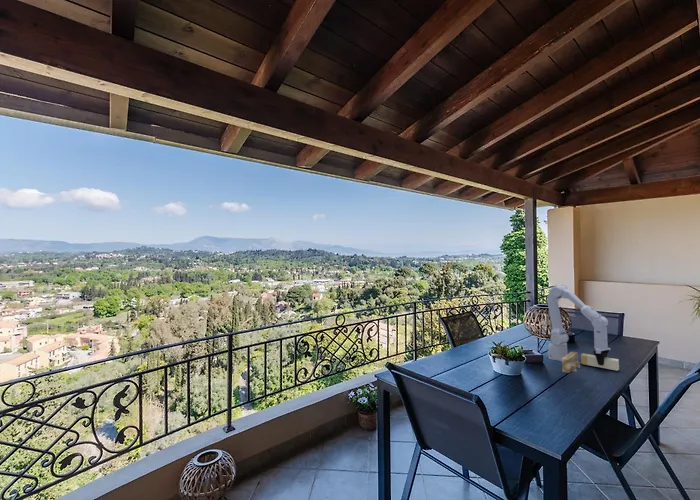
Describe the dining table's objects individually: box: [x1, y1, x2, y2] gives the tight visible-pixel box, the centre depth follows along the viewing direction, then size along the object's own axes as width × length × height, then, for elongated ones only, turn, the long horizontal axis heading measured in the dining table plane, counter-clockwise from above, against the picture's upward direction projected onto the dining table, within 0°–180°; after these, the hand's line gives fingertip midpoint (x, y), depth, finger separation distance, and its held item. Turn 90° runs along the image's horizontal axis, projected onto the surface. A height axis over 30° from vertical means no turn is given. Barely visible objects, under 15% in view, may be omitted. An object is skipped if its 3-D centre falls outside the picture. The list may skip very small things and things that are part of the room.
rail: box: [580, 353, 620, 371], centre depth 177 cm, size 16×4×5 cm, turn 42°
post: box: [561, 351, 581, 374], centre depth 177 cm, size 5×18×7 cm, turn 132°
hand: (601, 364), depth 176 cm, fingers closed on rail, 4 cm apart
